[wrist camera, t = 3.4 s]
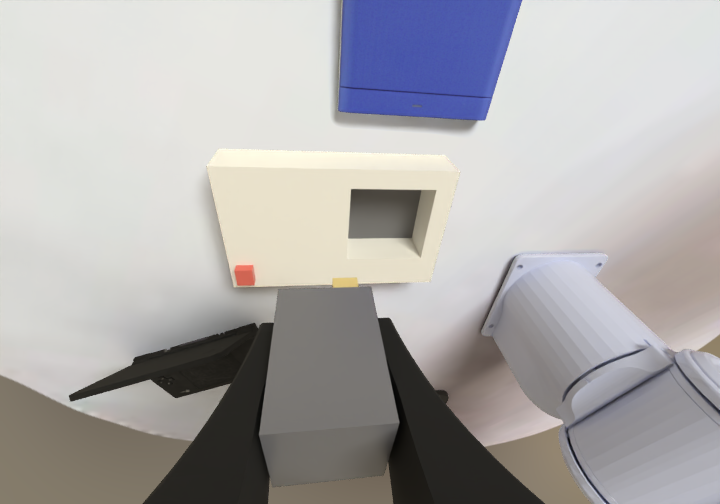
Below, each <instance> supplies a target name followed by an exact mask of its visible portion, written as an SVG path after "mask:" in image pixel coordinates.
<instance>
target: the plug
mask: <svg viewBox="0 0 720 504" xmlns="http://www.w3.org/2000/svg"><path fill="white" fill-rule="evenodd" d="M398 426H399V418H398V414H397V409H396V404H395V399H394V394H393V390H392V385H391V380H390V375H389V370H388V366H387V361H386V356H385V351H384V346H383V342H382V337H381V332H380V327H379V322H378V317H377V313H376V308H375V303H374V298H373V293H372V289H371V287H358V280H357V277H353V278H332V288H303V289H278V296H277V304H276V311H275V319H274V326H273V334H272V341H271V349H270V356H269V364H268V371H267V379H266V386H265V394H264V401H263V409H262V416H261V424H260V431H259V437H260V441H261V445H262V449H263V452H264V456H265V460H266V464H267V468H268V472H269V476H270V479H271V483H272V487H281V486H290V485H298V484H307V483H318V482H327V481H336V480H345V479H355V478H364V477H372V476H382V475H384V473H385V470H386V466H387V463H388V460H389V457H390V453H391V450H392V446H393V443H394V440H395V436H396V433H397V430H398Z"/></svg>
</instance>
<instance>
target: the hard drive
mask: <svg viewBox="0 0 720 504" xmlns="http://www.w3.org/2000/svg"><path fill="white" fill-rule="evenodd" d="M521 2H522V0H342V2H341V30H340V57H339V85H338V111H341V112H349V113H363V114H380V115H397V116H415V117H432V118H448V119H464V120H485V119H486V116H487V113H488V110H489V107H490V103H491V100H492V96H493V93H494V90H495V87H496V83H497V80H498V77H499V74H500V71H501V67H502V64H503V60H504V57H505V54H506V51H507V48H508V45H509V41H510V38H511V35H512V31H513V28H514V25H515V22H516V18H517V15H518V12H519V9H520V5H521Z"/></svg>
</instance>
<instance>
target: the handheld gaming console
mask: <svg viewBox="0 0 720 504" xmlns="http://www.w3.org/2000/svg"><path fill="white" fill-rule="evenodd" d="M257 331H258V328H257V326H256V324H255V323H253V324H249V325H246V326H242V327H239V328H237V329H233V330H230V331H226V332H225V334H223V333H221V334H220V335H219V334H216V335H212V336H209V337H205V338H202V339H198V340H195V341H191V342H188V343H184V344H181V345H178V346H175V347H171V348H170V350H167V349H164V350H161V351H157V352H154V353H149V354H145V355H142V356H138V357H135V358H134V360H133V361H134V362H133V363H132V365H131V366H129V367H127V368H125V369H123V370H120V371H118V372H116V373H114V374H112V375H110V376H108V377H106V378H104V379H102V380H100V381H98V382H96V383H94V384H91V385H89V386H87V387H85V388H83V389H81V390H79V391H77V392H75V393H73V394H71V395H69V398H70V401H75V400H79V399H82V398H86V397H89V396H93V395H96V394H100V393H103V392H107V391H111V390H114V389H118V388H121V387H125V386H128V385H132V384H135V383H139V382H142V381H146V380H150V379H151V380H152V381H153V382H155V383H156V384H157V385H159V386H160V387H161V388H163V389H164V390H165V391H167V392H168V393H169V394H171V395H172V396H173V397H175V398H179V397H182V396H186V395H190V394H193V393H197V392H201V391H205V390H208V389H212V388H215V387H219V386H223V385H226V384H230V383H232V381H233V380H234V378H235V376H236V374H237V372H238V370H239V369H240V367H241V365H242V363H243V361H244V359H245V357H246V355H247V353H248V351H249V349H250V347H251V345H252V343H253V341H254V339H255V336H256V334H257Z"/></svg>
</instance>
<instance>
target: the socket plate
mask: <svg viewBox="0 0 720 504" xmlns="http://www.w3.org/2000/svg"><path fill="white" fill-rule="evenodd" d="M206 167H207V171H208V175H209V180H210V184H211V189H212V193H213V197H214V202H215V206H216V211H217V215H218V219H219V224H220V228H221V233H222V237H223V241H224V246H225V250H226V255H227V259H228V263H229V268H230V272H231V277H232V281H233V285H234V288H235V287H269V286H303V285H332V278H353V277H357V280H358V284H370V283H404V282H430V281H431V278H432V274H433V270H434V267H435V263H436V259H437V256H438V252H439V248H440V245H441V241H442V237H443V234H444V230H445V226H446V223H447V219H448V215H449V212H450V208H451V204H452V201H453V197H454V193H455V190H456V186H457V182H458V179H459V175H460V171H459V170H458V168H457V167H456V166H455V165H454V164H453V163H452V162H451V161H450V160H449V159H448V158H447V157H446V156H445V155H420V154H385V153H350V152H315V151H280V150H245V149H218V150H217V152H216V153H215V155H214V156H213V158H212V159H211V160H210V162H209V163H208V165H207V166H206Z"/></svg>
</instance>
